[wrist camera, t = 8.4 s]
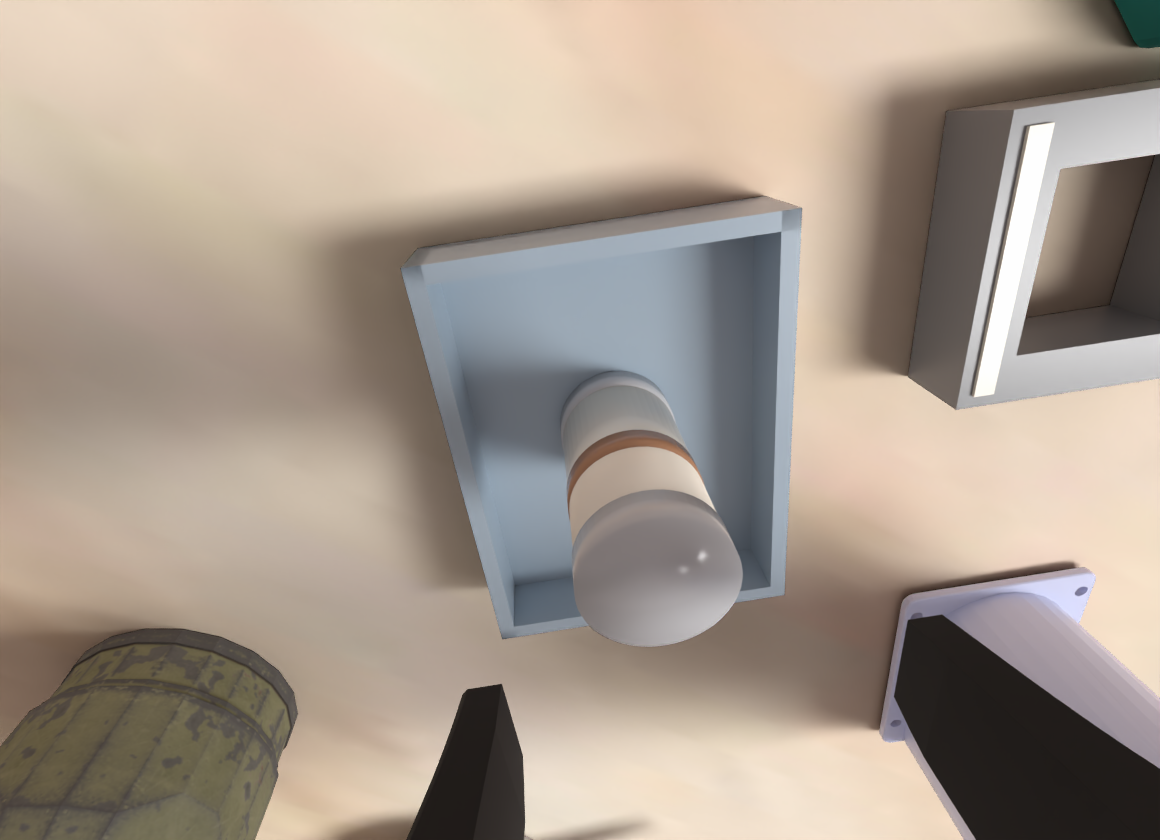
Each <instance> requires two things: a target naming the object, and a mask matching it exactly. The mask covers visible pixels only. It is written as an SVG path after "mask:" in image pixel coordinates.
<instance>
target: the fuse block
mask: <svg viewBox="0 0 1160 840" xmlns="http://www.w3.org/2000/svg"><path fill="white" fill-rule="evenodd" d="M1149 155H1155V158H1154V161H1153V164H1152V168H1151V171H1150V174H1149V177H1148V181H1147V184H1146V187H1145V191H1144V194H1143V197H1142V200H1141V204H1140V207H1139V210H1138V214H1137V217H1136V220H1135V223H1134V227H1133V230H1132V233H1131V237H1130V240H1129V243H1128V246H1127V250H1126V253H1125V256H1124V260H1123V263H1122V266H1121V269H1120V273H1119V276H1118V279H1117V283H1116V286H1115V289H1114V292H1113V296H1112V299H1111V302H1110V305H1107V306H1101V307H1094V308H1088V309H1081V310H1075V311H1068V312H1062V313H1055V314H1049V315H1042V316H1035V317H1029V318H1025V317H1026V312H1027V308H1028V304H1029V300H1030V296H1031V291H1032V287H1033V283H1034V279H1035V274H1036V270H1037V266H1038V262H1039V258H1040V253H1041V249H1042V245H1043V241H1044V236H1045V232H1046V228H1047V224H1048V219H1049V215H1050V211H1051V207H1052V203H1053V198H1054V194H1055V190H1056V186H1057V181H1058V177H1059V173H1060V169H1063V168H1070V167H1076V166H1083V165H1090V164H1096V163H1103V162H1109V161H1116V160H1123V159H1129V158H1136V157H1143V156H1149ZM908 377H909V378H910V379H912V380H913V381H914V382H916V383H917V384H919V385H920V386H922V387H923V388H925V389H926V390H928V391H929V392H931V393H932V394H934V395H935V396H937V397H938V398H939V399H941V400H942V401H944V402H945V403H947V404H948V405H950V406H951V407H953V408H954V409H956V410H958V409H965V408H971V407H978V406H984V405H991V404H997V403H1004V402H1010V401H1017V400H1023V399H1030V398H1036V397H1043V396H1049V395H1055V394H1062V393H1068V392H1075V391H1081V390H1088V389H1094V388H1101V387H1107V386H1114V385H1120V384H1127V383H1133V382H1140V381H1146V380H1153V379H1159V378H1160V79H1157V80H1150V81H1144V82H1137V83H1130V84H1124V85H1117V86H1110V87H1103V88H1097V89H1090V90H1083V91H1077V92H1070V93H1063V94H1057V95H1050V96H1043V97H1037V98H1030V99H1023V100H1017V101H1010V102H1003V103H996V104H990V105H983V106H976V107H970V108H963V109H956V110H950V111H947V112H946V119H945V126H944V133H943V139H942V146H941V153H940V160H939V167H938V174H937V181H936V187H935V194H934V201H933V208H932V215H931V222H930V229H929V235H928V242H927V249H926V256H925V263H924V270H923V277H922V283H921V290H920V297H919V304H918V311H917V318H916V325H915V332H914V338H913V345H912V352H911V359H910V366H909V373H908Z"/></svg>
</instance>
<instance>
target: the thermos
mask: <svg viewBox="0 0 1160 840" xmlns="http://www.w3.org/2000/svg"><path fill="white" fill-rule="evenodd" d="M297 714H298V713H297V708H296V702H295V697H294V692H293V691H292V689H291V688H290V686H289V685H288V684H287V682H286V681H285V679H284V678H283V676H282V675H281V673H280V672H279V671H278V670H277V669H275V668H274V667H273V666H272V665H270V664H269V663H268V662H266V661H265V660H264V659H262V658H261V657H260V656H259V655H257V654H256V653H255V652H253V651H251V650H248V649H246V648H244V647H242V646H239V645H237V644H235V643H232V642H230V641H228V640H226V639H223V638H221V637H217V636H212V635H207V634H203V633H198V632H193V631H189V630H184V629H143V630H139V631H134V632H130V633H125V634H121V635H117V636H112V637H110V638H108V639H106V640H105V641H103V642H101V643H100V644H98V645H96V646H94V647H93V648H91V649H89V650H88V651H86V652H85V653H84V654H83V656H82V657H81V658H80V659H79V660H78V662H77V663H76V664H75V665H74V667H73V668H72V670H71V671H70V672H69V674H68V675H67V677H66V678H65V679H64V681H63V682H62V684H61V686H60V687H59V688H58V689H57V690H56V692H55V693H54V694H53V695H52V697H51V698H50V699H49V700H47V701H45V702H44V703H42V704H41V705H40V706H38V707H36V708H34V709H33V710H31V711H30V712H29V713H28V714H27V715H26V716H25V718H24V719H23V720H22V721H21V722H20V724H19V725H18V726H17V727H16V728H15V729H14V731H13V732H12V733H11V734H10V735H9V737H8V738H7V739H6V740H5V741H4V743H3V744H2V745H1V746H0V840H255V838H256V836H257V833H258V830H259V828H260V825H261V822H262V820H263V817H264V814H265V812H266V809H267V807H268V804H269V801H270V799H271V796H272V793H273V790H274V787H275V784H276V781H277V778H278V772H277V767H278V761H279V759H280V756H281V753H282V751H283V749H284V748H285V747H286V746H287V743H288V741H289V738H290V735H291V733H292V730H293V727H294V723H295V720H296V717H297Z"/></svg>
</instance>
